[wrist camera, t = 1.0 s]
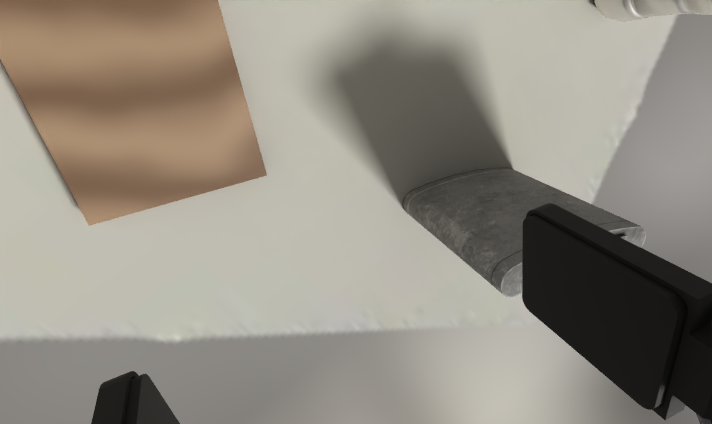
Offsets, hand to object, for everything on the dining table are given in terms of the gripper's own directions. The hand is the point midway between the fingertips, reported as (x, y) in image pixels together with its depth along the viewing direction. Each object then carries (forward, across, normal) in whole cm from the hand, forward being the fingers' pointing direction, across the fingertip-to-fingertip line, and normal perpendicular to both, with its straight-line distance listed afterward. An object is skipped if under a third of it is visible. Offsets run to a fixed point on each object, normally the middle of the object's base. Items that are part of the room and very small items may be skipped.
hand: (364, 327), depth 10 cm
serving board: (+28, +6, -4) cm, 29 cm away
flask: (+28, -20, +15) cm, 38 cm away
